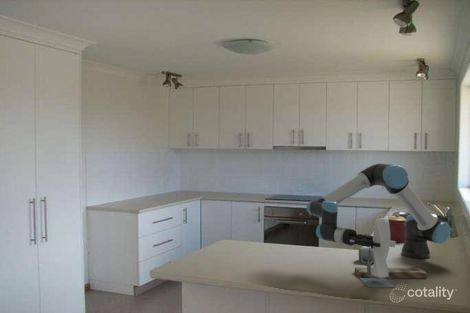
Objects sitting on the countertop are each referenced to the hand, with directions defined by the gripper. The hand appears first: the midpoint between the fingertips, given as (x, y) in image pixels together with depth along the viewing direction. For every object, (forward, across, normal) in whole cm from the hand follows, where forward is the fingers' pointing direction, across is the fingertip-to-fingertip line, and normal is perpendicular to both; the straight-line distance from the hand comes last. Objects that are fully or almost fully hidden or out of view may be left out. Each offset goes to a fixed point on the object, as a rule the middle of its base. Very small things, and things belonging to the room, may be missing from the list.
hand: (391, 245), depth 200 cm
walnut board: (-8, -16, -18) cm, 25 cm away
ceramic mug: (-27, -28, -18) cm, 44 cm away
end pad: (-6, +1, -18) cm, 19 cm away
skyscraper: (-5, 0, -15) cm, 16 cm away
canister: (-44, -93, -18) cm, 104 cm away
